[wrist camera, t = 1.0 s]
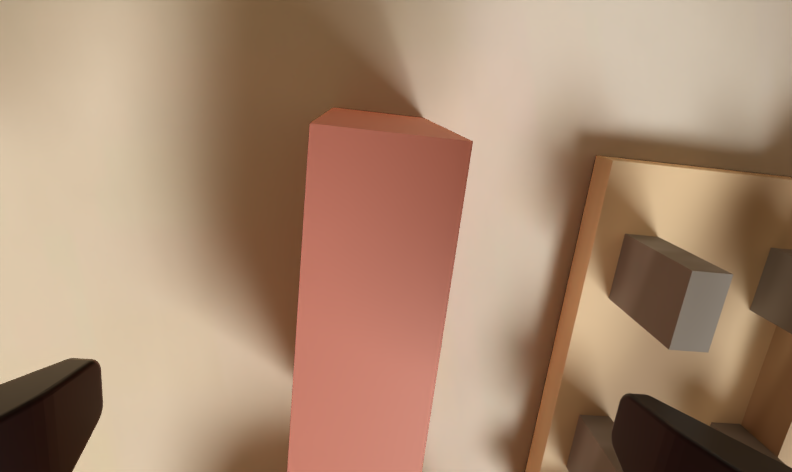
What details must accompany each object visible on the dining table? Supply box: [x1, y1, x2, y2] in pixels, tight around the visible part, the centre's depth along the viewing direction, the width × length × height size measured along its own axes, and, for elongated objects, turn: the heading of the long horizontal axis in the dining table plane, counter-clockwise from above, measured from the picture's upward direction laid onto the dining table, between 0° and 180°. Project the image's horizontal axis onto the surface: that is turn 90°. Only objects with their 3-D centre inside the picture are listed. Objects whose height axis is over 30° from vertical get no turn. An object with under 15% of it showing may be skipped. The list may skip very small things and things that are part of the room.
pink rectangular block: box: [287, 107, 473, 472], centre depth 12 cm, size 9×2×6 cm, turn 174°
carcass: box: [525, 155, 792, 472], centre depth 15 cm, size 7×12×4 cm, turn 174°
